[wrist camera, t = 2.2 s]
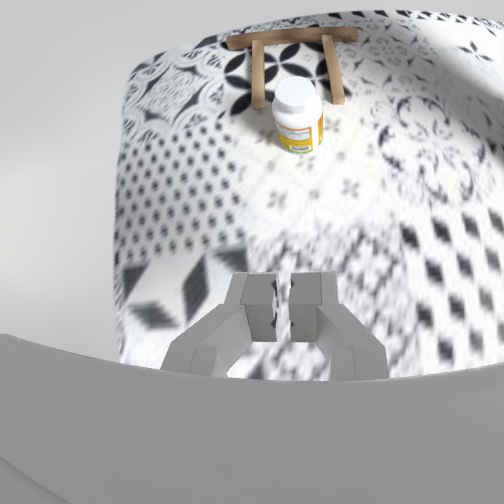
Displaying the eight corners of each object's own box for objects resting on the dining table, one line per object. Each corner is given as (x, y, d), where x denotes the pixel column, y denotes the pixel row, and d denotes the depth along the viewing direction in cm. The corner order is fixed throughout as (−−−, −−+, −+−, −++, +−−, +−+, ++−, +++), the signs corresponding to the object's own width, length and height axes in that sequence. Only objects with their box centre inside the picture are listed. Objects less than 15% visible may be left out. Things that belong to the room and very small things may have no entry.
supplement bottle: (302, 112, 37) (296, 63, 28) (332, 139, 36) (333, 91, 26) (271, 136, 37) (256, 89, 28) (299, 164, 36) (292, 120, 27)
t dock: (355, 35, 38) (355, 27, 36) (373, 104, 35) (375, 95, 33) (229, 44, 42) (226, 36, 40) (224, 112, 39) (220, 104, 37)
